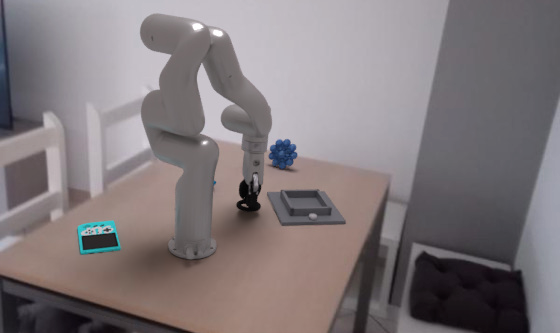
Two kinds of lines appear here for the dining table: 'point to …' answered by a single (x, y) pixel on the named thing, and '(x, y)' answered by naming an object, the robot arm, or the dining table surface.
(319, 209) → the housing
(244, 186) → the webcam
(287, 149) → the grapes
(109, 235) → the handheld game console
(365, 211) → the dining table surface
